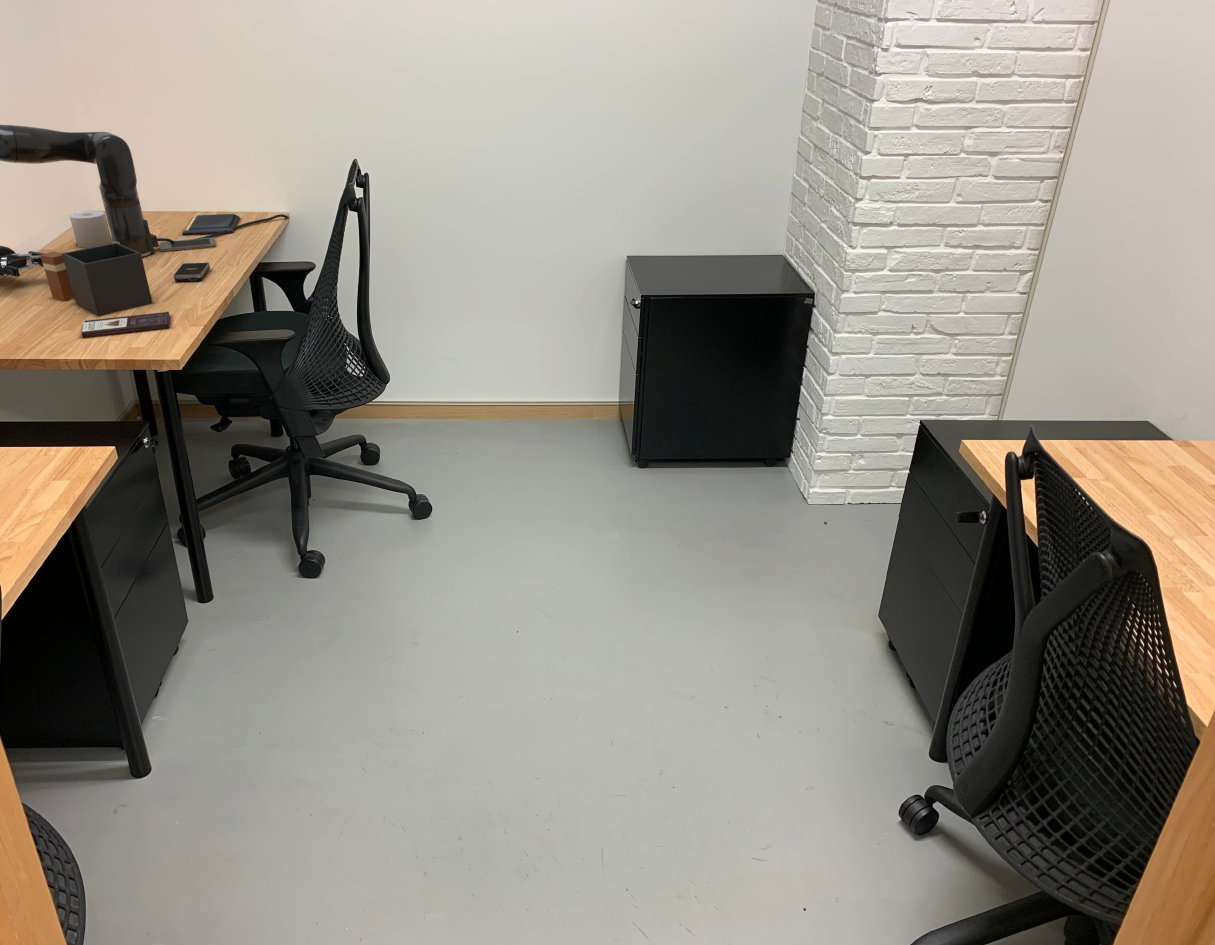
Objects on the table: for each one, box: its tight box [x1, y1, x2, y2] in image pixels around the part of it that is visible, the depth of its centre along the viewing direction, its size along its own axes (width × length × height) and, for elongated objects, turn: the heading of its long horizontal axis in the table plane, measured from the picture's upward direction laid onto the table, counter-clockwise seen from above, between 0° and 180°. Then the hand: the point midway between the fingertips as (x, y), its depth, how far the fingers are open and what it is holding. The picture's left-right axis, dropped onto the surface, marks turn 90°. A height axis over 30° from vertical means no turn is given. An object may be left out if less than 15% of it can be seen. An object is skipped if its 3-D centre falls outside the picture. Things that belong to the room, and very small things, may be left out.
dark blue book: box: [182, 213, 240, 236], centre depth 293 cm, size 20×2×15 cm
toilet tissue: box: [69, 210, 113, 249], centre depth 274 cm, size 9×13×9 cm
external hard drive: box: [173, 262, 211, 283], centre depth 248 cm, size 7×11×2 cm, turn 9°
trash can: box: [61, 243, 154, 317], centre depth 226 cm, size 13×13×13 cm
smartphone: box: [159, 237, 216, 252], centre depth 274 cm, size 15×8×1 cm, turn 113°
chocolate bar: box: [81, 311, 170, 339], centre depth 214 cm, size 9×1×18 cm
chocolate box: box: [40, 251, 74, 302], centre depth 230 cm, size 5×4×11 cm
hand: (33, 268), depth 233 cm, fingers open, 8 cm apart
